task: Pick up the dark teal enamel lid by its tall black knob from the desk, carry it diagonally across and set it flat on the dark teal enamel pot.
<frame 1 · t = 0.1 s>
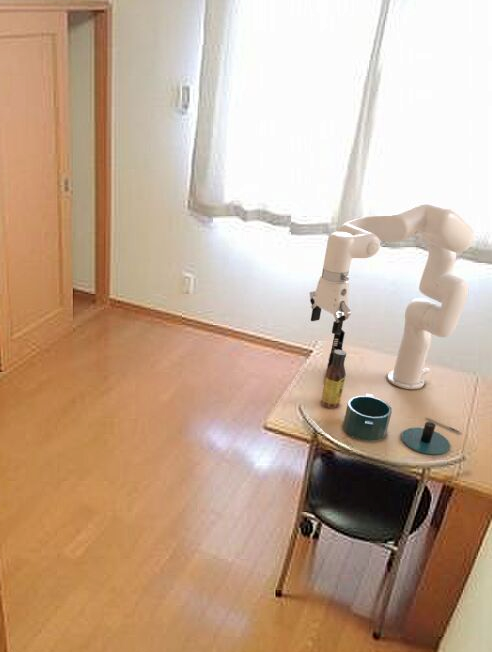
hand: (325, 326, 204), 31 cm above the table, tool pointing down, fingers open, 9 cm apart
lid: (425, 441, 204), point 1 cm above the table
sauce bottle: (330, 404, 223), on the table
ballpoint pen: (442, 427, 213), on the table
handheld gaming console: (331, 377, 239), on the table
pot: (364, 430, 210), on the table
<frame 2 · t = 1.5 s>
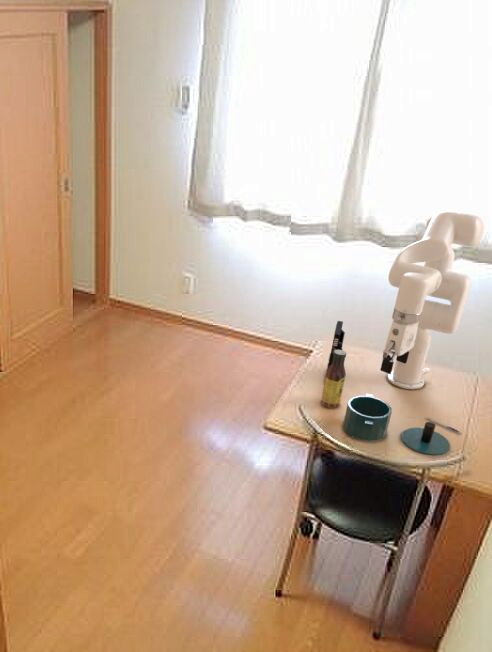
hand: (393, 366, 198), 23 cm above the table, tool pointing down, fingers open, 9 cm apart
nothing on the table moved.
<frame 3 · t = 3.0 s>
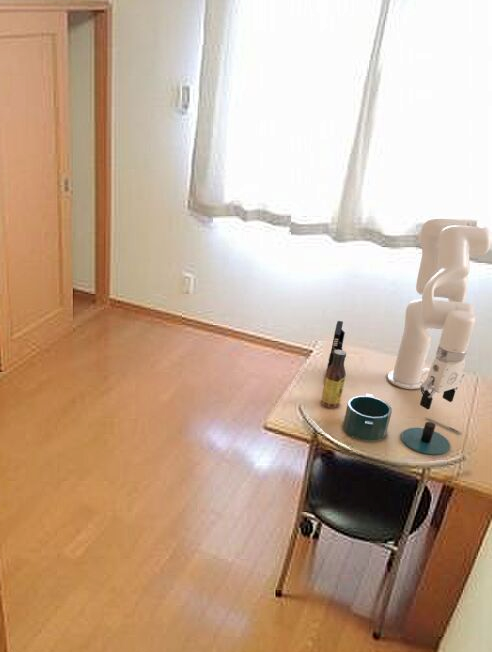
hand: (435, 403, 197), 15 cm above the table, tool pointing down, fingers open, 9 cm apart
nothing on the table moved.
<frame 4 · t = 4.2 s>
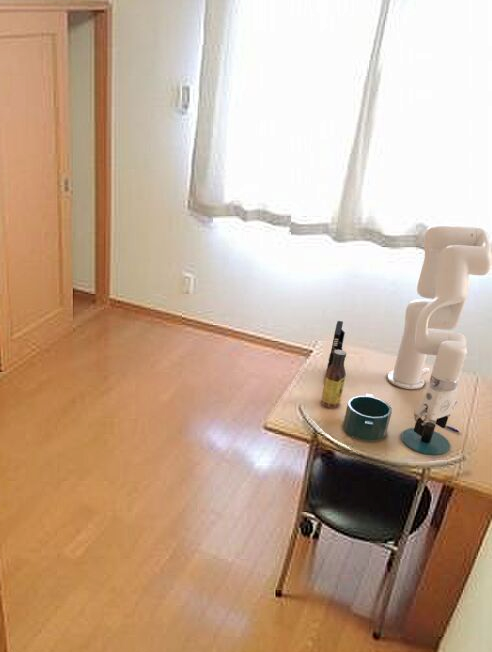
hand: (429, 429, 201), 5 cm above the table, tool pointing down, fingers open, 9 cm apart
nothing on the table moved.
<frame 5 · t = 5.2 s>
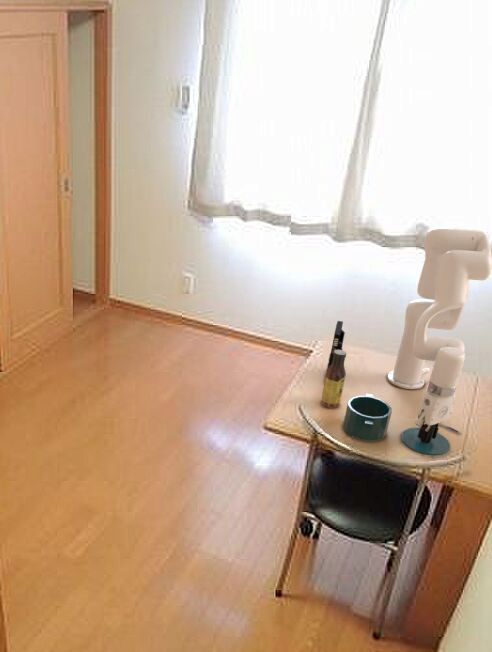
hand: (426, 437, 203), 2 cm above the table, tool pointing down, fingers closed on lid, 3 cm apart
lid: (425, 441, 204), point 1 cm above the table, touching gripper
everything else where it was.
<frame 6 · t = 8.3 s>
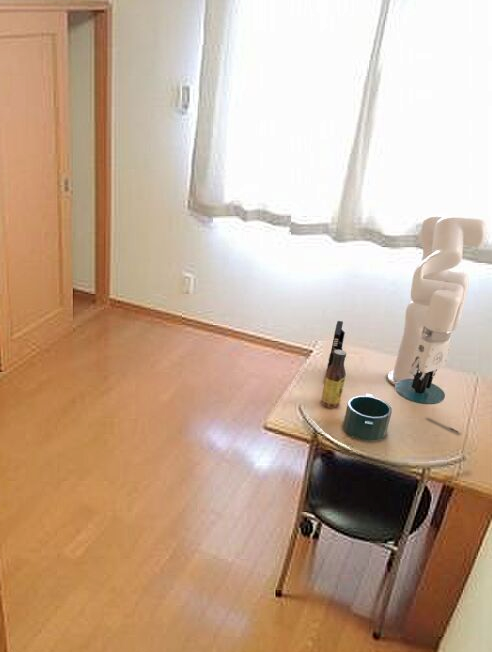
hand: (420, 387, 196), 19 cm above the table, tool pointing down, fingers closed on lid, 3 cm apart
lid: (419, 391, 197), point 17 cm above the table, touching gripper
everything else where it was.
when the fingers open (11 cm above the table, at t = 11.7 s): lid stays where it is, resting on pot.
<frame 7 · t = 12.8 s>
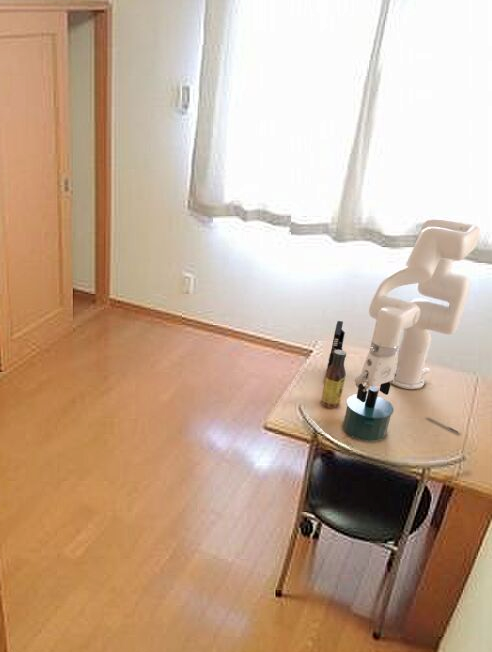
hand: (372, 396, 204), 13 cm above the table, tool pointing down, fingers open, 9 cm apart
lid: (369, 406, 205), point 9 cm above the table, touching pot
everything else where it was.
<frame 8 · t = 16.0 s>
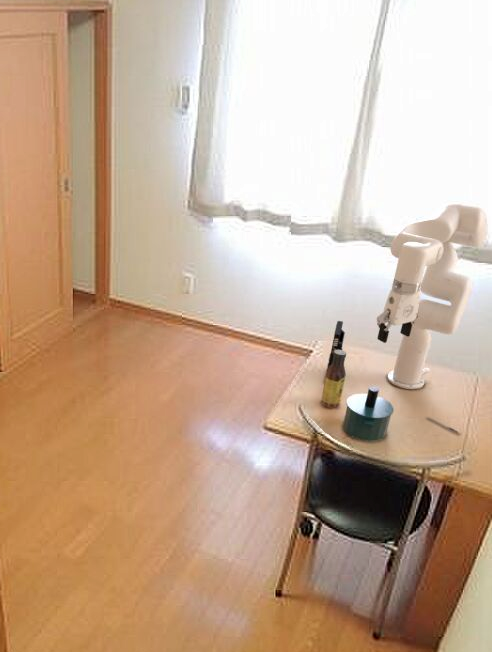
hand: (393, 337, 200), 30 cm above the table, tool pointing down, fingers open, 9 cm apart
nothing on the table moved.
at the end: lid 0.1 cm off-centre on the pot, point 9.0 cm above the pot's base; lid tilted 0°; the gripper is holding nothing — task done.
